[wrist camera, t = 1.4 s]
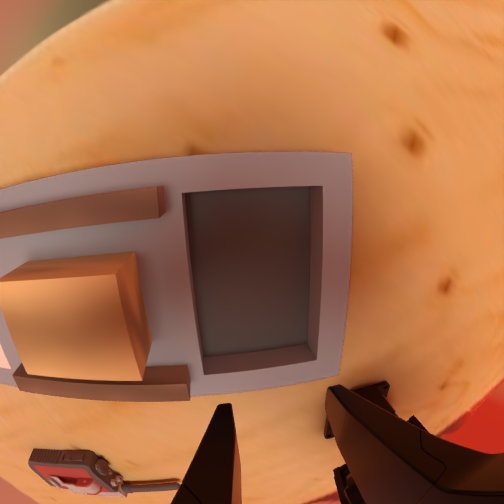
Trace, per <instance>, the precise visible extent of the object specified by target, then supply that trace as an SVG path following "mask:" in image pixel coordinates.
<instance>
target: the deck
mask: <svg viewBox="0 0 504 504" xmlns="http://www.w3.org/2000/svg"><path fill="white" fill-rule="evenodd" d="M154 186H163V194H164V207H165V213H164V214H163V215H162V216H161V217H160V218H156V219H146V220H136V221H127V222H118V223H109V224H101V225H92V226H85V227H77V228H69V229H62V230H55V231H48V232H41V233H34V234H28V235H21V236H15V237H9V238H3V239H0V278H1V277H3V276H4V275H6V274H8V273H9V272H11V271H12V270H14V269H16V268H17V267H19V266H21V265H22V264H24V263H26V262H27V261H36V260H46V259H57V258H67V257H77V256H88V255H98V254H109V253H120V252H131V251H135V255H136V261H137V268H138V274H139V280H140V285H141V291H142V296H143V302H144V307H145V312H146V316H147V321H148V326H149V330H150V335H151V339H152V344H151V348H150V352H149V356H148V360H147V363H146V367H150V366H176V365H187V367H188V371H189V376H190V381H191V385H190V397H192V396H207V395H219V394H229V393H239V392H247V391H255V390H262V389H269V388H276V387H282V386H288V385H294V384H299V383H304V382H310V381H314V380H319V379H324V378H329V377H333V376H337V375H339V371H340V365H341V358H342V350H343V343H344V335H345V326H346V316H347V306H348V295H349V282H350V268H351V249H352V218H353V174H352V153H340V152H307V151H272V152H238V153H218V154H203V155H191V156H180V157H169V158H160V159H151V160H143V161H136V162H128V163H121V164H115V165H108V166H102V167H96V168H91V169H85V170H80V171H75V172H70V173H65V174H60V175H55V176H51V177H46V178H42V179H38V180H34V181H30V182H26V183H22V184H18V185H14V186H10V187H7V188H3V189H0V212H4V211H8V210H12V209H17V208H22V207H26V206H31V205H36V204H41V203H46V202H52V201H57V200H63V199H68V198H74V197H80V196H87V195H93V194H100V193H107V192H114V191H121V190H129V189H137V188H145V187H154ZM21 363H22V361H21V359H20V357H19V355H18V352H17V350H16V347H15V345H14V342H13V340H12V337H11V335H10V332H9V329H8V327H7V324H6V321H5V318H4V315H3V312H2V309H1V306H0V384H5V385H10V386H15V387H18V386H17V384H16V382H15V380H14V378H13V376H12V375H13V373H14V372H15V371H16V369H17V368H18V367H19V365H20V364H21Z"/></svg>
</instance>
